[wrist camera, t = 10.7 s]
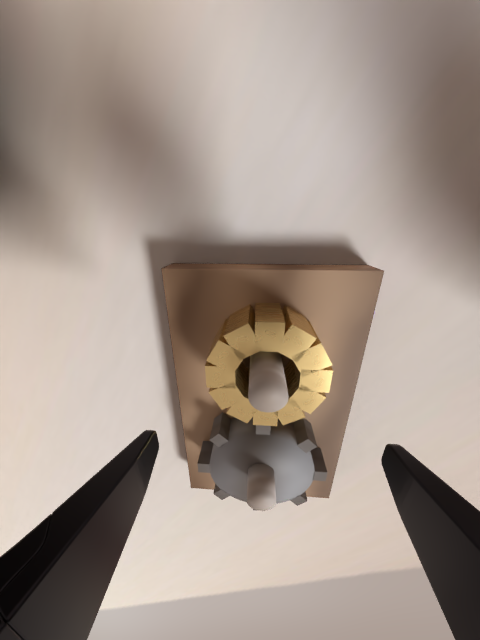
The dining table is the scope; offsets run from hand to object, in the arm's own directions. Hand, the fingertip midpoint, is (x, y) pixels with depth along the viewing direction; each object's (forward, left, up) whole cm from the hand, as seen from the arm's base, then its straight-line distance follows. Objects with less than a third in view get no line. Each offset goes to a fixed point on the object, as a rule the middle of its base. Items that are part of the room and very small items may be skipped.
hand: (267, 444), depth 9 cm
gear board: (0, +5, -9) cm, 10 cm away
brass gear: (0, 0, -7) cm, 7 cm away
